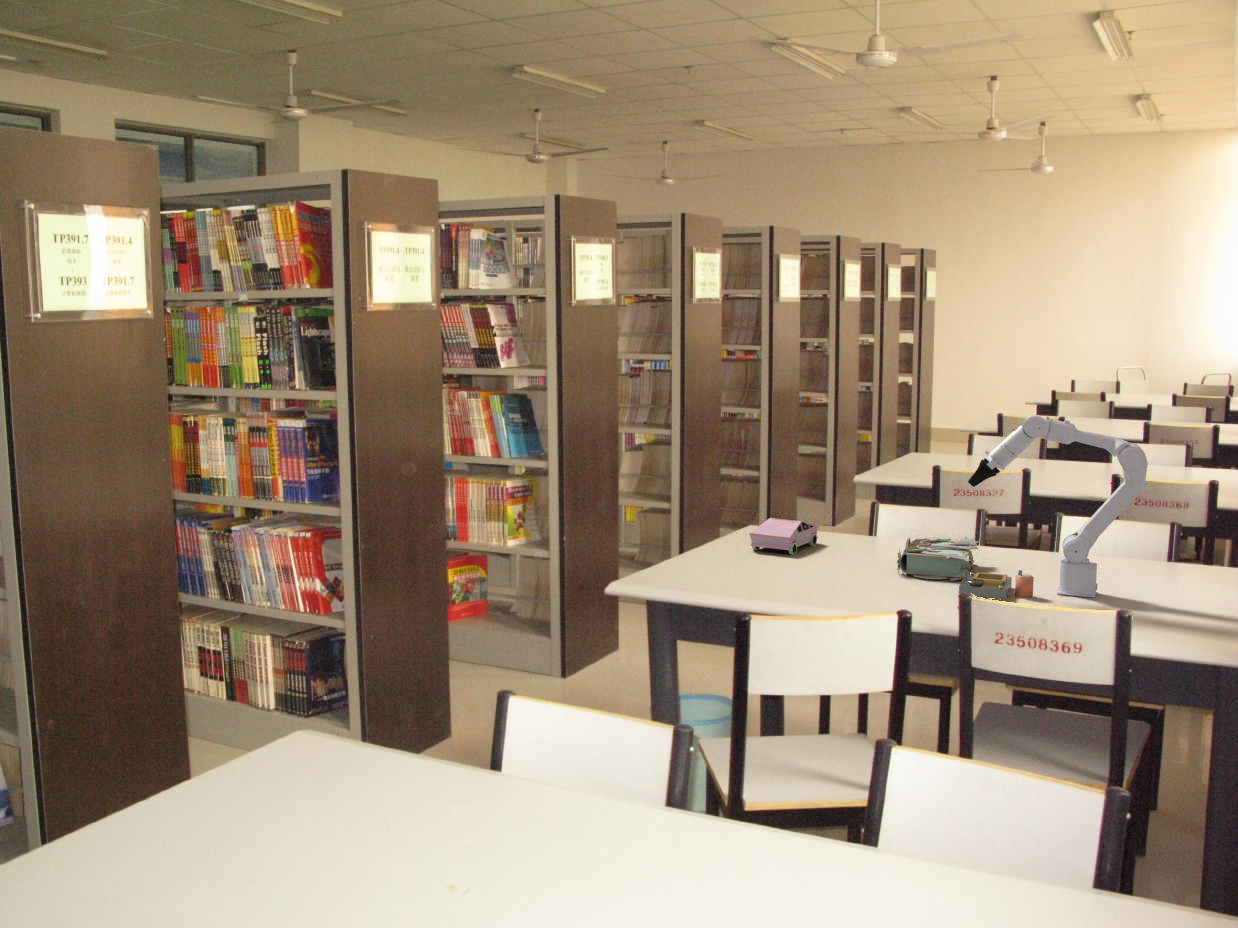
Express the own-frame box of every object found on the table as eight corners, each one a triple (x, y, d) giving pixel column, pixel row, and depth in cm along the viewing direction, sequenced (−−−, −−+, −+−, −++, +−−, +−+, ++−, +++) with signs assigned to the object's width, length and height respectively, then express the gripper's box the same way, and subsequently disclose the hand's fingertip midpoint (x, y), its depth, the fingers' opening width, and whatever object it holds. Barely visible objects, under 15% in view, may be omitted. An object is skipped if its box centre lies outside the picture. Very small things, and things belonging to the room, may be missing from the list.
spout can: (1033, 595, 285) (1034, 569, 284) (1032, 599, 281) (1033, 573, 280) (1015, 593, 287) (1016, 568, 286) (1014, 597, 283) (1015, 571, 282)
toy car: (820, 543, 358) (821, 514, 357) (789, 557, 337) (790, 526, 336) (781, 539, 366) (781, 511, 365) (748, 552, 346) (748, 522, 344)
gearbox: (1011, 587, 294) (1011, 572, 293) (1005, 600, 279) (1006, 585, 279) (966, 583, 299) (967, 569, 298) (958, 596, 284) (959, 581, 284)
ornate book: (906, 561, 333) (891, 578, 306) (907, 531, 332) (892, 546, 305) (981, 567, 324) (972, 585, 297) (982, 536, 323) (973, 552, 296)
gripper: (1000, 437, 296) (964, 471, 301) (996, 440, 283) (958, 474, 287) (1019, 455, 294) (982, 488, 299) (1015, 459, 281) (977, 493, 286)
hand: (972, 483), depth 293 cm, fingers open, 7 cm apart
